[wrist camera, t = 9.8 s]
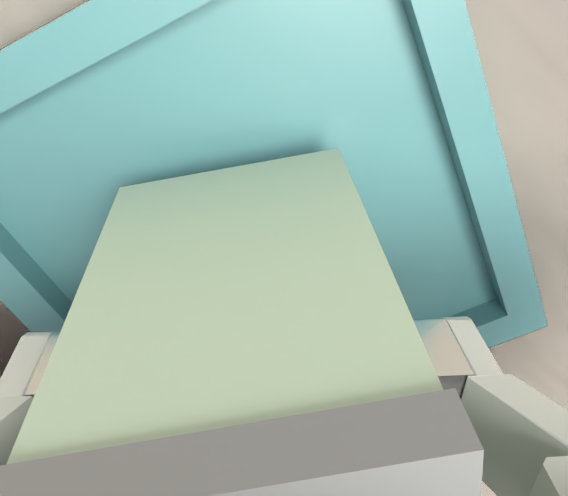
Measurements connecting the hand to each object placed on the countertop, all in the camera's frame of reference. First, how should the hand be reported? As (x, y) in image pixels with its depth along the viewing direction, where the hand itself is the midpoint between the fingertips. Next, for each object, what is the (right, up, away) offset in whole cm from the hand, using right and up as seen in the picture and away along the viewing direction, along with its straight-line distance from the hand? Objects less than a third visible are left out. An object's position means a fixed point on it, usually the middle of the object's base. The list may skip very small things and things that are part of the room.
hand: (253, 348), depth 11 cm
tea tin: (0, +2, +3) cm, 3 cm away
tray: (0, +3, +4) cm, 5 cm away
